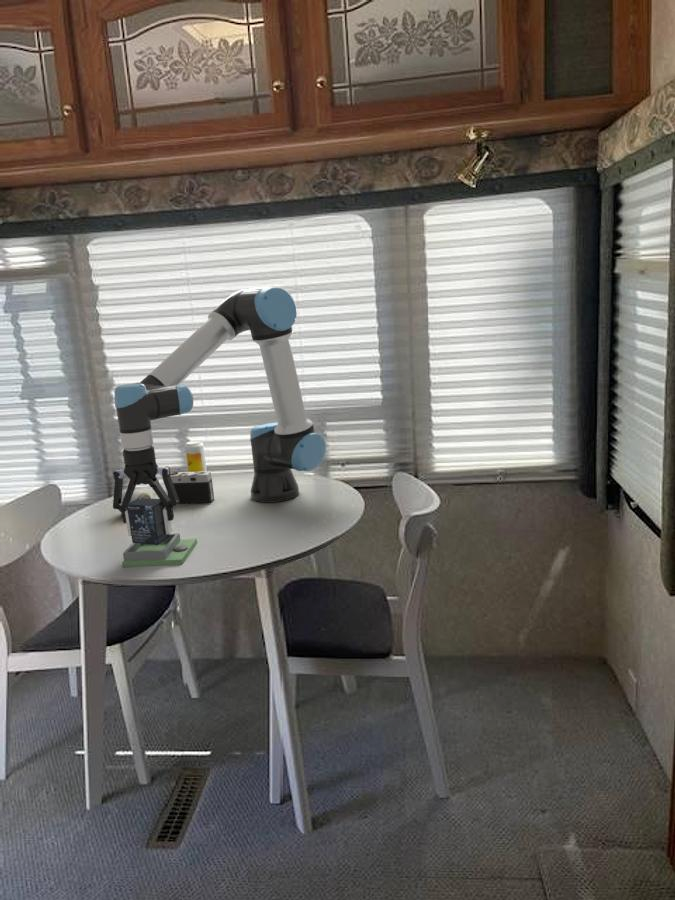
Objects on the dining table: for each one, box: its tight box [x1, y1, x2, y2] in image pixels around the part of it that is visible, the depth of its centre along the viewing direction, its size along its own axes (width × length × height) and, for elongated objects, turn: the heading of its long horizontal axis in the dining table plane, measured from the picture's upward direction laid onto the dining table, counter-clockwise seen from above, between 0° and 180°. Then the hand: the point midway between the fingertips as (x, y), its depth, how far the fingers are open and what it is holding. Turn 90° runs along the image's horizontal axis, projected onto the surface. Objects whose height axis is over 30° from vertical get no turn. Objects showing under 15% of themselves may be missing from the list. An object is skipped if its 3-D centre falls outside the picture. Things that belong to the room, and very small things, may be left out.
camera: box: [166, 470, 215, 505], centre depth 220 cm, size 14×8×10 cm, turn 81°
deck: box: [122, 533, 198, 567], centre depth 176 cm, size 15×14×3 cm
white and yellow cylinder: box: [184, 440, 207, 472], centre depth 237 cm, size 6×6×15 cm
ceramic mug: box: [117, 488, 152, 513], centre depth 212 cm, size 11×8×8 cm
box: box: [127, 498, 171, 545], centre depth 175 cm, size 8×6×11 cm
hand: (150, 533), depth 176 cm, fingers closed on box, 9 cm apart
